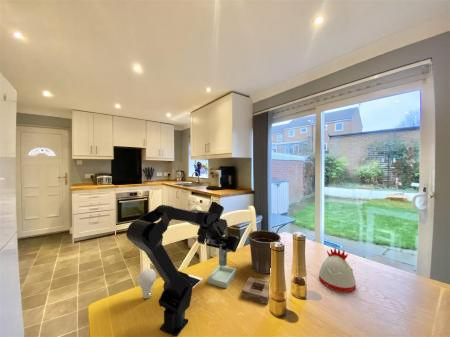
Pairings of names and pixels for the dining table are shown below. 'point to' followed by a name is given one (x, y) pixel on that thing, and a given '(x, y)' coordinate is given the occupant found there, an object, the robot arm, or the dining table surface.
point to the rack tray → (222, 276)
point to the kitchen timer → (337, 272)
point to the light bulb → (146, 281)
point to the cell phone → (195, 280)
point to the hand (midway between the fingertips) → (224, 248)
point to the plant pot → (262, 249)
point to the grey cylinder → (222, 256)
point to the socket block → (256, 294)
